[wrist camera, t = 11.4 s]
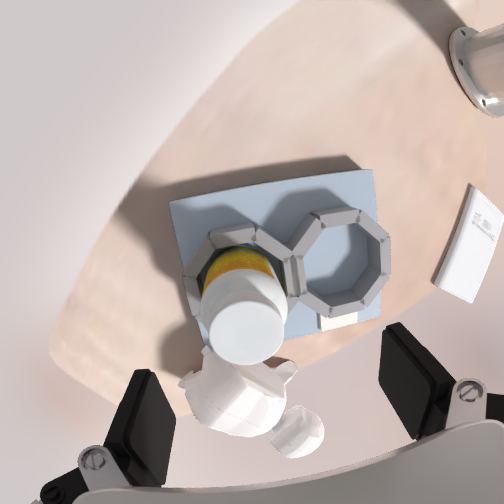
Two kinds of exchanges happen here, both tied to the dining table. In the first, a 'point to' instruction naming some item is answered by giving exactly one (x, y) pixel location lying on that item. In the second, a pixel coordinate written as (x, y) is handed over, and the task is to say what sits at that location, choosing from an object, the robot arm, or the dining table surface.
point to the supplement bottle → (243, 306)
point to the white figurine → (251, 403)
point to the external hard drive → (471, 247)
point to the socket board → (282, 220)
